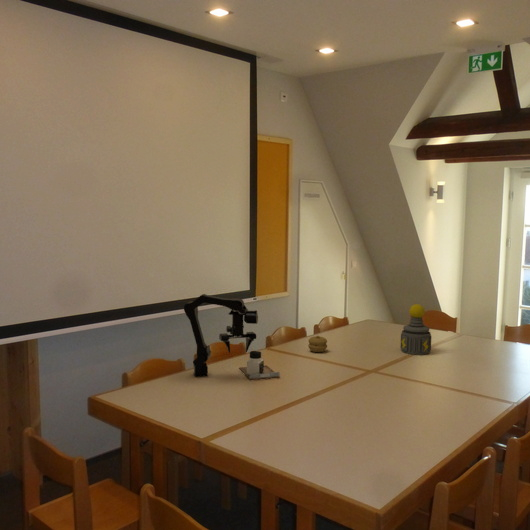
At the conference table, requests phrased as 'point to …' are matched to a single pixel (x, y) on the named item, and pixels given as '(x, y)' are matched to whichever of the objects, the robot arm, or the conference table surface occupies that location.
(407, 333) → the decorative lamp
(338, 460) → the conference table surface
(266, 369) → the shelf board
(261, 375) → the price rail
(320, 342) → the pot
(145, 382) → the conference table surface
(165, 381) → the conference table surface
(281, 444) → the conference table surface
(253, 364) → the medicine bottle
